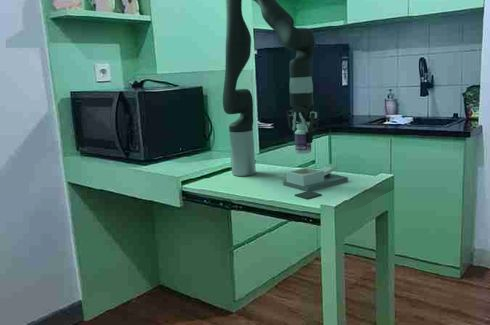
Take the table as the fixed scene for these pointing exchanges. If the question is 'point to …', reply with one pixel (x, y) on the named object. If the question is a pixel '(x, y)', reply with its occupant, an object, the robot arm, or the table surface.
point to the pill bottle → (301, 140)
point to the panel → (311, 179)
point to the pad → (308, 195)
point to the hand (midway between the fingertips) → (303, 142)
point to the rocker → (329, 169)
